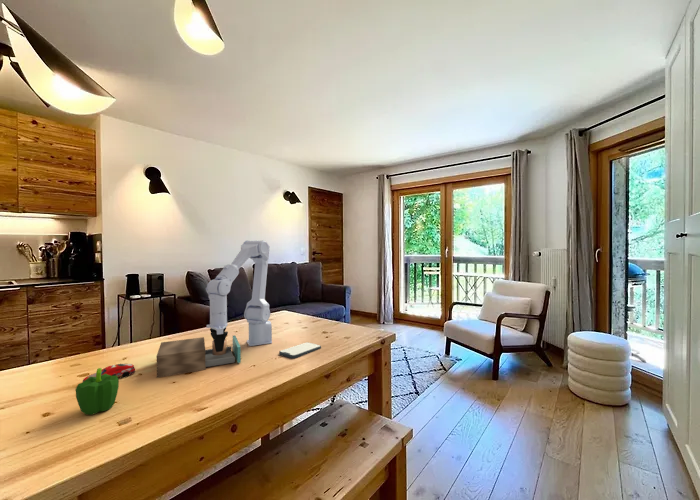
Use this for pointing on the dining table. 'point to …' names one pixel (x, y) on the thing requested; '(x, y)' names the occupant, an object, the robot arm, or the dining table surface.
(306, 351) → the phone case
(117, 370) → the race car
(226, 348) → the brown round cylinder
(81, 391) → the bell pepper
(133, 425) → the dining table surface
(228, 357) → the drawer
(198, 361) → the spice box
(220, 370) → the dining table surface
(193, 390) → the dining table surface
